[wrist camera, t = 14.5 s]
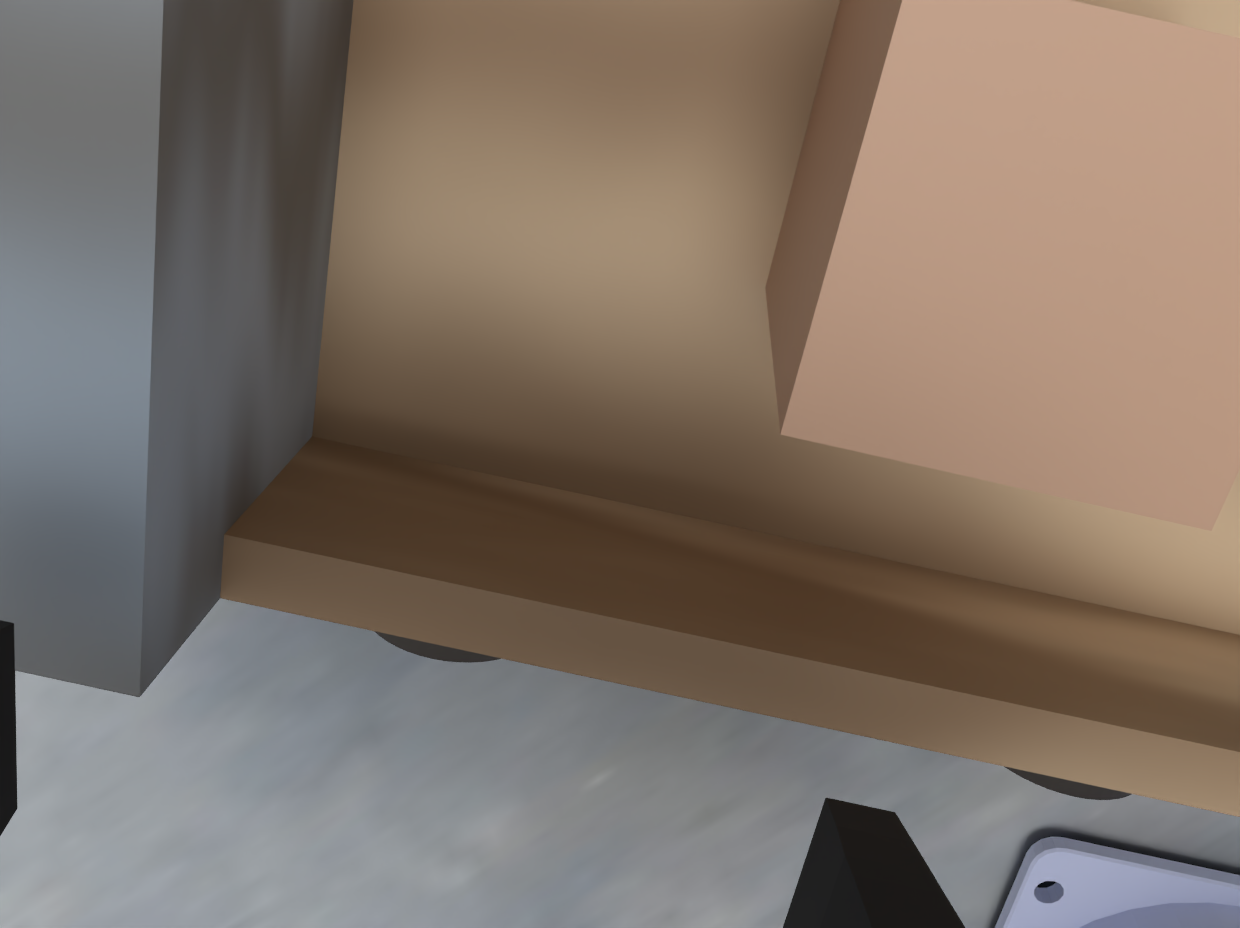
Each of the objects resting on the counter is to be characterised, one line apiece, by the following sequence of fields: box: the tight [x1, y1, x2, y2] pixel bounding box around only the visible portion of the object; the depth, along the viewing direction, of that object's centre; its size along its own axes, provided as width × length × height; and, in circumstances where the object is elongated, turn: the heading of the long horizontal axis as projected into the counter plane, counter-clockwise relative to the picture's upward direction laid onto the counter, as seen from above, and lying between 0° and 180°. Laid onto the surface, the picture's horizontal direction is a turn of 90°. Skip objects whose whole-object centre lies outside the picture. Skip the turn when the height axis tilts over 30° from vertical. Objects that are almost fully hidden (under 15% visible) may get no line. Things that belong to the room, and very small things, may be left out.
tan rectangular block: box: [765, 0, 1240, 531], centre depth 14 cm, size 4×4×6 cm
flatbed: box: [0, 0, 1240, 817], centre depth 14 cm, size 16×20×7 cm
